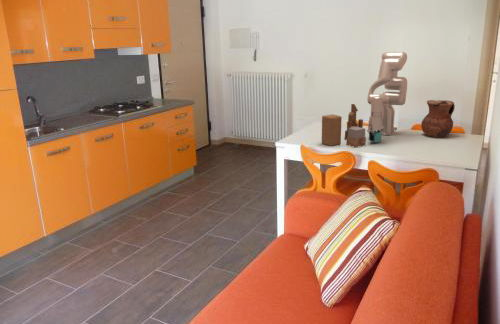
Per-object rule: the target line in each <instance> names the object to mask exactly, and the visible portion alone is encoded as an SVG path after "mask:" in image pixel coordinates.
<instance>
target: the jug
mask: <svg viewBox="0 0 500 324" xmlns="http://www.w3.org/2000/svg"><path fill="white" fill-rule="evenodd" d="M426 104H427V106H428V113H427V114H426V116H424V118H423V119H422V121H421V130H422V132H423V134H425V135H426V136H428V137H431V138H444V137H447V136H448V135H449V134H451V132H452V130H453V127H454V121H453V119H452V115H453V113H454V111H455V107H456V106H455V102H454V101H451V100H446V99H445V100H443V99H442V100H440V99H439V100H436V99H435V100H434V99H429V100H427V101H426Z"/></svg>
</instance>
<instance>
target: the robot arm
mask: <svg viewBox="0 0 500 324" xmlns="http://www.w3.org/2000/svg"><path fill="white" fill-rule="evenodd" d="M407 60H408V54H407V53H406V52H405V51H404V52H403V51H388V52H383V53H382V55H381V62H380V66H379V71H378V75H377V80H375V81H374V82H373V83H372V84H371V86H370V87H369V89H368V94H367V103H368V104H369V105H370V116H369V120H368V124H367V130H366V132H367V133H368V136H369V135H370V140H371V141H370V142H372V141H374V135H373V134H374V131H378V132H382V136H394V135H396V131H397V130H398V127H397V126H395V110H396V109H394V107H393V106H403V105H405V104H406V99H407V93H408V91H407V90H408V79H407V78H406V77H404V76H398V74H399V72H398V71H402V70H403V68H404V67H405V65H406V63H407ZM382 86H384V89H385V90H387V91H385V92H382V93H375V91H376V90H377V89H378V88H380V87H382ZM390 90H391V91H390ZM394 126H395V127H394Z"/></svg>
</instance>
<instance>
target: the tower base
mask: <svg viewBox="0 0 500 324" xmlns="http://www.w3.org/2000/svg"><path fill="white" fill-rule="evenodd" d="M366 139H367V137H366V136H365V137H363V138H359V139H355V138H351V137H347V139H346V145H345V146H349V145H350V146H349V147H352V146H354V147H353V148H359V147H358V146H361V147H364V146H363V145H365V146H366V141H367V140H366Z"/></svg>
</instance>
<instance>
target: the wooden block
mask: <svg viewBox="0 0 500 324" xmlns="http://www.w3.org/2000/svg"><path fill="white" fill-rule="evenodd" d="M341 143H342V116H341V115H338V114H327V115H322V117H321V144H323V145H326V146H329V147H332V146H339V145H340V144H341Z"/></svg>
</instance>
